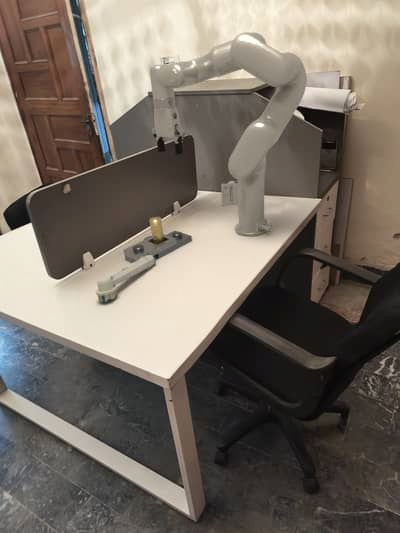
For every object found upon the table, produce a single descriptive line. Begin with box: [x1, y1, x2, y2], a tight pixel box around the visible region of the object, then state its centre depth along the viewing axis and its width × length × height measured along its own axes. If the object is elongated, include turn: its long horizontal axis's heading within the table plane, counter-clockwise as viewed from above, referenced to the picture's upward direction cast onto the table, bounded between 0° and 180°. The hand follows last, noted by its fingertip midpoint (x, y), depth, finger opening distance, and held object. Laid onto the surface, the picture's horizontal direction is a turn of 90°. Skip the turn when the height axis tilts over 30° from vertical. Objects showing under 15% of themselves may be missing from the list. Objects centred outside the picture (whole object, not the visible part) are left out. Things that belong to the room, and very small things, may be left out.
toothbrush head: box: [95, 255, 157, 302], centre depth 113 cm, size 5×7×25 cm
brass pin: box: [149, 216, 164, 245], centre depth 129 cm, size 4×4×12 cm
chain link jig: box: [123, 230, 193, 264], centre depth 130 cm, size 24×9×5 cm, turn 137°
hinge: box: [220, 180, 238, 207], centre depth 163 cm, size 14×5×10 cm, turn 77°
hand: (170, 152), depth 139 cm, fingers open, 9 cm apart
